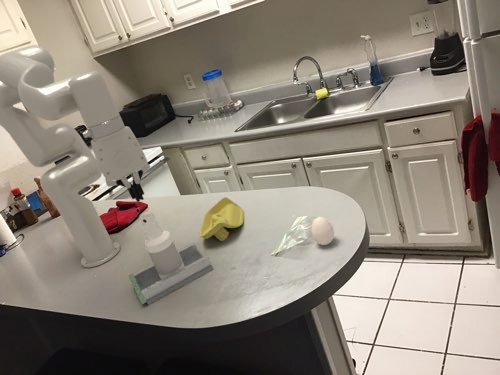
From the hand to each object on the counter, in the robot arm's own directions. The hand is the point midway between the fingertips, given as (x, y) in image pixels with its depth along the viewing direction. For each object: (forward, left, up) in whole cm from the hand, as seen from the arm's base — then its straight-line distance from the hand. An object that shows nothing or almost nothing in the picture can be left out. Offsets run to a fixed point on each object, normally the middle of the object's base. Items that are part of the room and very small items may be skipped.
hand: (139, 199), depth 104 cm
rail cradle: (0, 0, -23) cm, 23 cm away
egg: (+21, +34, -24) cm, 46 cm away
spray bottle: (0, 0, -23) cm, 23 cm away
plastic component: (-11, +19, -24) cm, 33 cm away
